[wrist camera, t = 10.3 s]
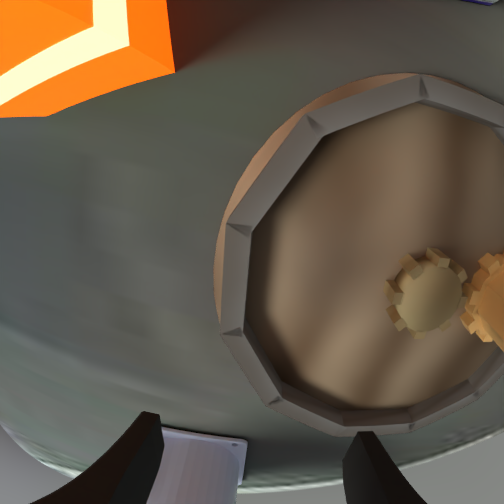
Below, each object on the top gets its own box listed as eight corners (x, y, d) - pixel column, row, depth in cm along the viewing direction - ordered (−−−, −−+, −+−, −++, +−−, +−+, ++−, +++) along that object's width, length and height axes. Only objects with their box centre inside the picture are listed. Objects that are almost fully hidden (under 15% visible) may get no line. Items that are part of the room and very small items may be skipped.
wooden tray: (211, 410, 22) (205, 435, 20) (232, 43, 14) (225, 27, 12) (478, 406, 22) (489, 425, 19) (566, 139, 13) (589, 143, 11)
